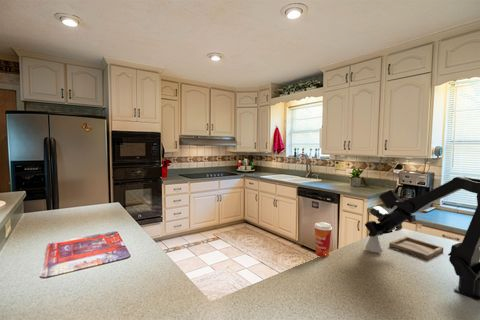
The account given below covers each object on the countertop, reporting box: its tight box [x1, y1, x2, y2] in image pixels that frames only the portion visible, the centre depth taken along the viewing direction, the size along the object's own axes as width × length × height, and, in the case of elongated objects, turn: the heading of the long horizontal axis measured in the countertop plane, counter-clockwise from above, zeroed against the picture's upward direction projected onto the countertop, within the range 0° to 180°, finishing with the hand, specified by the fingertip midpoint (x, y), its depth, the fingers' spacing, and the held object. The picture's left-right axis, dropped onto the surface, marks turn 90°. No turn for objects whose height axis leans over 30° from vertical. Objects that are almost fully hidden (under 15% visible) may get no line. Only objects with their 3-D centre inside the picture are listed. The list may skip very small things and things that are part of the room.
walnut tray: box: [388, 235, 444, 261], centre depth 117 cm, size 16×16×2 cm
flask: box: [364, 236, 383, 253], centre depth 114 cm, size 7×7×10 cm
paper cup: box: [313, 221, 333, 258], centre depth 110 cm, size 8×8×14 cm
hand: (371, 234), depth 115 cm, fingers closed on flask, 3 cm apart
